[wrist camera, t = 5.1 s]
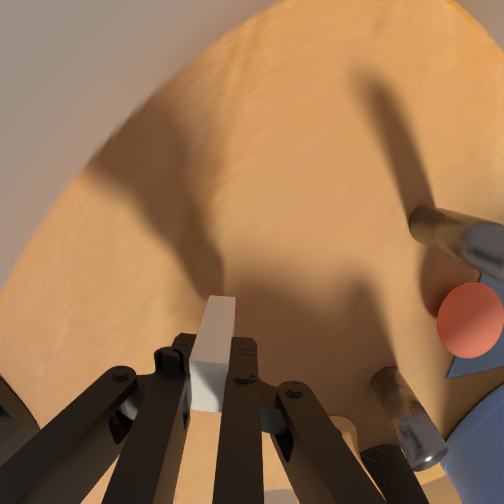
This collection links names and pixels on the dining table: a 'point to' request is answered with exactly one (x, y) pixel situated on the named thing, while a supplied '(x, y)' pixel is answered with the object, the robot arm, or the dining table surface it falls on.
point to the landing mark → (493, 358)
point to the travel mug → (393, 475)
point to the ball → (470, 320)
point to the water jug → (478, 453)
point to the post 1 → (408, 420)
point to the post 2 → (461, 238)
